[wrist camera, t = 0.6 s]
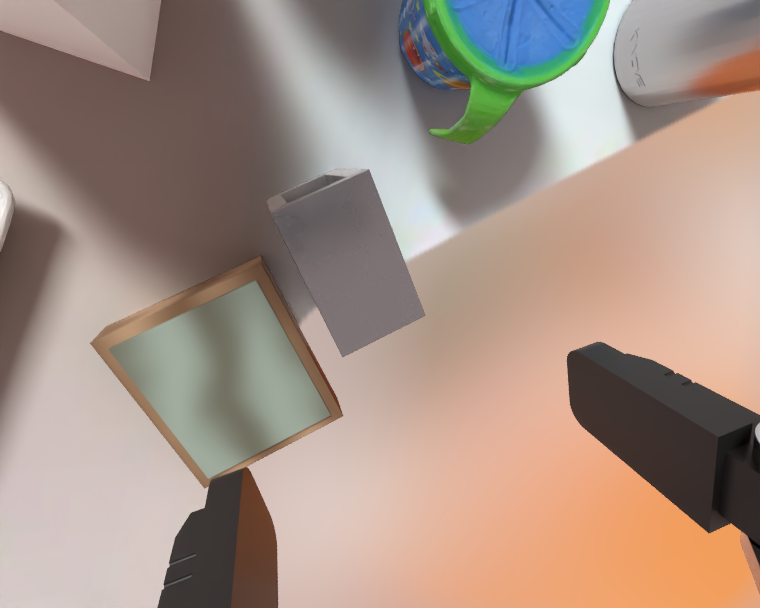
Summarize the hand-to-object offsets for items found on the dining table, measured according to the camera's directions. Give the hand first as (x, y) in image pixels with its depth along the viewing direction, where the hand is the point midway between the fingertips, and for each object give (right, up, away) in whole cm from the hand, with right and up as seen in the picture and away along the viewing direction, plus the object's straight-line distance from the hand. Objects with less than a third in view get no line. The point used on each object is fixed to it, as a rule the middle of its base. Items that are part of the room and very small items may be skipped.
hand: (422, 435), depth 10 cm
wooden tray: (-13, -2, +23) cm, 26 cm away
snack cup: (+4, +23, +20) cm, 31 cm away
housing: (-5, +8, +22) cm, 24 cm away
